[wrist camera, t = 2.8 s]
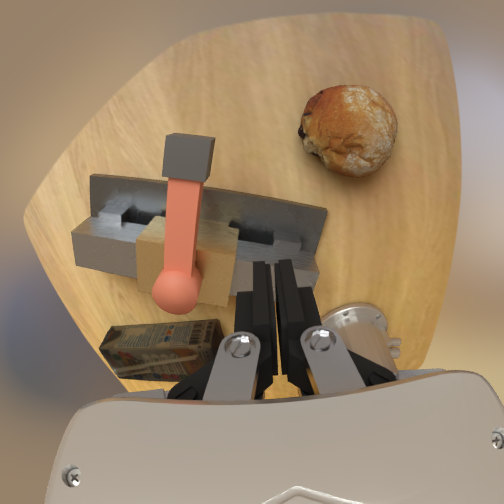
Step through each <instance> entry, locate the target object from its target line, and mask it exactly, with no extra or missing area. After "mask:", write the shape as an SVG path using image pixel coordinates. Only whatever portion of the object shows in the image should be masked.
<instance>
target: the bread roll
mask: <svg viewBox="0 0 504 504" xmlns="http://www.w3.org/2000/svg"><path fill="white" fill-rule="evenodd" d="M298 134H299V136H300V137H301V138H303V139H304V140H303V146H304V150H305V151H306V152H307V153H312V154H313V155H316V156H319V157H320V159H321V162H322V163H323V164H324V166H325V167H326V169H329V170H332V171H334V172H336V173H339V174H341V175H344V176H349V177H364V176H367V175H370V174H372V173H374V172H375V171H377V170H378V169H379V168H380V167H381V165H383V164H384V163H385V162H386V161H387V160H388V159H389V158H390V155H391V150H392V147H393V144H394V142H395V138H396V134H397V119H396V115H395V113H394V111H393V109H392V107H391V105H390V104H389V103H388V101H387V100H386V99H385V98H384V97H383V96H382V95H381V94H380V93H378V92H377V91H375V90H374V89H372V88H369V87H366V86H359V85H339V86H335V87H330V88H327V89H324V90H321V91H320V92H318V93H317V94H316V95H315V96H313V97H312V98H311V99H310V100H309V101H308V102H307V105H306V107H305V110H304V113H303V115H302V119H301V126H300V128H299V130H298Z"/></svg>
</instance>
